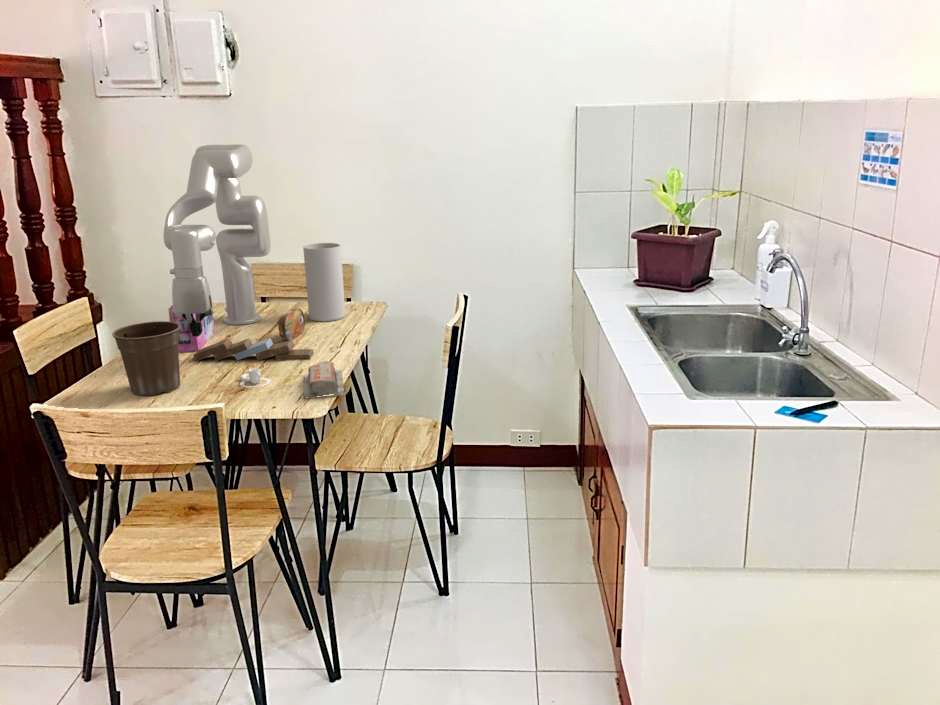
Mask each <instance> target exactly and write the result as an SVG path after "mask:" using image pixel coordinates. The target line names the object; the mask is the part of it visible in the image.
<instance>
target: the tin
mask: <svg viewBox="0 0 940 705" xmlns="http://www.w3.org/2000/svg"><path fill="white" fill-rule="evenodd" d="M277 323H278V324H277V326H278V332H279V337H280V339H281V340H282V341H289V340H293V341H294V340H295V339H296V338H298V337H300V336H301V335H302V334H303V333H304V332H305V331H304V330H305V327H306V326H305V325H306V320H305V314H304V312H303V310H302V309H301V308H292V309H290V310H288V311H286V312H285V313H284V314H282V315H281V316H280V317H279V319H278V322H277Z"/></svg>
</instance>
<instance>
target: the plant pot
mask: <svg viewBox="0 0 940 705" xmlns="http://www.w3.org/2000/svg"><path fill="white" fill-rule="evenodd" d="M179 329H180V325H179V324H178V323H175V322H170V321H169V320H168V321H167V320H166V321H164V320H163V321H162V320H160V321H159V320H158V321H157V320H156V321H147V322H140V323H139V322H138V323H134V324H130V325H126V326H125V325H124V326H122V327H120V328H117V329H116V330H114V331H113V332H112V333H111V334H112V337H113V338H114V339H115V342H116V346H117V349H118V350H119V352H120V356H121V359H122V362H123V363H122V364H123V366H124V370H125V373H126V377H127V380H128V385H129V388H130V392H131V393H132V394H133V395H137V396H143V397H144V396H146V397H147V396H156V395H161V393H163V392H164V393H169V392H172V391H174V390H176V389H178V388H179V387H180V386H181V375H180V374H181V373H180V355H179V353H180V352H179V351H178V342H179Z"/></svg>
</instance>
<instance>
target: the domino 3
mask: <svg viewBox="0 0 940 705" xmlns="http://www.w3.org/2000/svg"><path fill="white" fill-rule="evenodd" d="M272 345H274V343H273V341H272V339H271V337H269V338H265V339H263V340H260V341H258V342H255V343H252V345H251V346H250V347H249V348H248V349H247V350H245V351H242V352H239V353H237V354H234V355H233V356H234V358H235V359H236V361H239V360H242V359H245V358H248V357H251V356H254V355H255V354H257V353H259V352H262V351H265V350H268V349H269V348H270V347H271V346H272Z"/></svg>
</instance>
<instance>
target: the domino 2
mask: <svg viewBox="0 0 940 705" xmlns="http://www.w3.org/2000/svg"><path fill="white" fill-rule="evenodd" d="M252 344H253V343H252V340H251V338H245V339H244V340H240V341H238V342H235V343H232V345H231V346H230V347H229V348H228V349H227V350H225V351H222V352H219V353H217V354H214V355H212V356H213V358H214V360H215V362H218V361H220V360H223V359H226V358H228V357H231V356H234V354H237V353H239V352H242V351H245V350H247V349H248V348H249V347H250V346H251V345H252Z"/></svg>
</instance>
